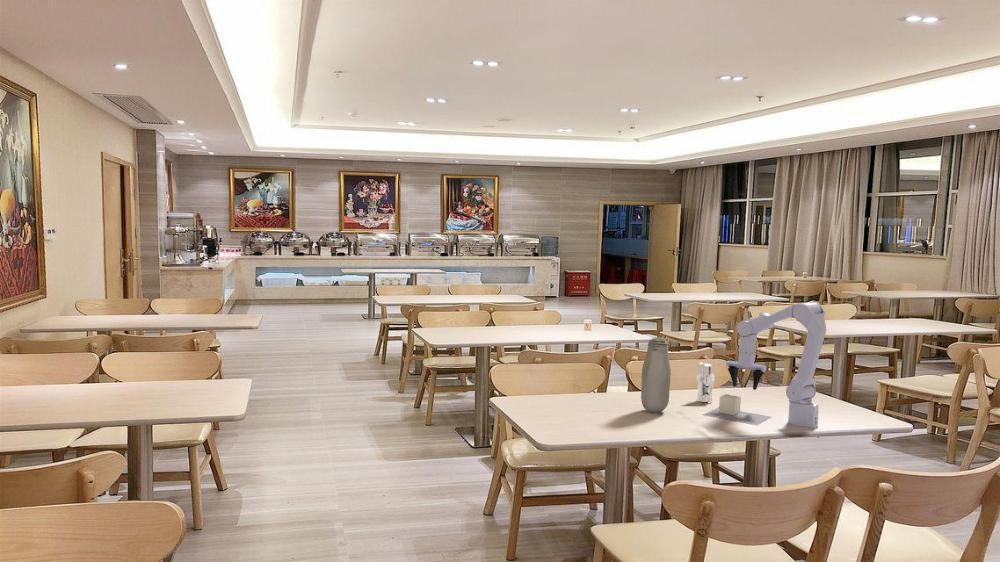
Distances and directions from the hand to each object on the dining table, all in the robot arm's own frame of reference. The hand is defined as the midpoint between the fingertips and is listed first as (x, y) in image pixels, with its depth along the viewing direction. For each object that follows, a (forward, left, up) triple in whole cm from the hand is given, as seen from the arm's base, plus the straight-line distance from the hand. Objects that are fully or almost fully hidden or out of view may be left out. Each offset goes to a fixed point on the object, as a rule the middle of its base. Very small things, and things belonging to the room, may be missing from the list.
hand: (744, 387), depth 276 cm
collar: (+2, +9, -8) cm, 12 cm away
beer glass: (+18, -6, -10) cm, 21 cm away
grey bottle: (+25, +24, -10) cm, 36 cm away
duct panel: (-2, +12, -9) cm, 15 cm away
